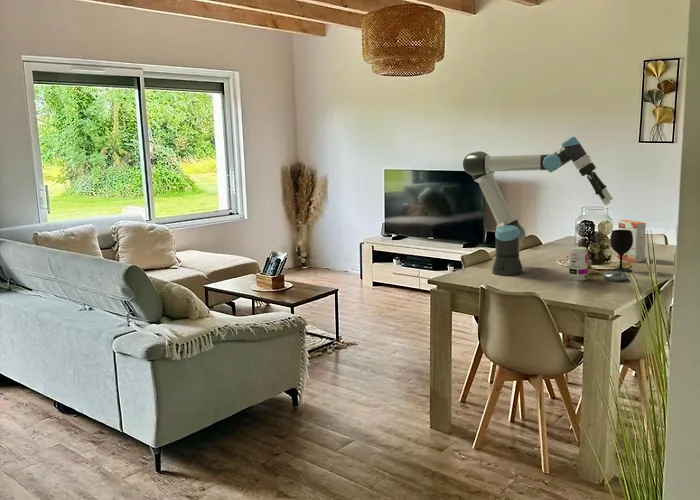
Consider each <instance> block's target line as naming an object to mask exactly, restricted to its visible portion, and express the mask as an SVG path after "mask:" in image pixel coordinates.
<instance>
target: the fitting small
mask: <svg viewBox="0 0 700 500" xmlns="http://www.w3.org/2000/svg"><path fill="white" fill-rule="evenodd" d="M592 264H593V263H592V259H588V274H587V276H591V275H596V274H597V273H596V272H597V268H596V267H594V266H592Z"/></svg>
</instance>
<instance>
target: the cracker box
mask: <svg viewBox="0 0 700 500" xmlns="http://www.w3.org/2000/svg"><path fill="white" fill-rule="evenodd" d="M646 227H647V225H646V222H643V221H637V220H632V219H621V220H618V230H630V231H632V235H633V245H632V247H631V249H630V250H629V251H628V252H626V253H625V254H624V255H623V257H622V260H624V261H627V262H632V263H636V264H638V263H643V262H645V258H646V256H645V255H646ZM617 259H620V256H619V254H618V253H617Z"/></svg>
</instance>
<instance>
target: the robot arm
mask: <svg viewBox="0 0 700 500" xmlns="http://www.w3.org/2000/svg"><path fill="white" fill-rule="evenodd" d="M590 157H591V155H588V153H587V152H586V151H585V149H584V147H583V146H582V144H581V143H580V141H579V140H578V138H577V137H576V136H571V137H569V138H568V139H566V140H565V141H563V142H562V143H561V148H560V149H558V150H557V151H555V152H554V153H551V154H525V155H524V154H523V155H522V154H521V155H520V154H519V155H517V154H516V155H493V156H492V155H489V154H488V153H486V152H485V151H481V150H480V151H474V152H470V153H468V154H467V155H466V156H465V157H464V158H463V161H462V168H463V170H464V171H465V173H467V174H469V175H470V176H471V177H472V179H473V181H474V182H476V183H478V185H479V188H480V189H481V192H482V194H483V196H484V199H485V201H486V202H487V204H488V206H489V209H490V211H491V213H492V215H493V218H494V220H495V223H496V227H495V228H496V229H495V234H494V236H495V259H494V262H493V265H492V271H491V272H492V274H494V275H497V276H518V275H521V274H523V273H524V269H523V265H522V262H521V258H520V246H521V245H522V244H523V242H525V241H524V240H525V238H526V230H525V229H524V227H523V226H522V225H521V224H520V223H519V221H518V219H517V218H516V217H514V216H513V215H512V213H511V210H510V208H509V206H508V204H507V202H506V200H505V199H506V198H505V197H504V195H503V193H502V192H501V189H500V187H499V184H498V183H497V181H496V178H495V176H494V175H495V172H516V171H517V172H518V171H520V172H523V171H524V172H525V171H526V172H527V171H529V172H530V171H548V172H549V173H553V172H555V171H556V170H558V169H559V168H561V167H563V166H564V165H566V164H567V163H569V162H570V161H572V163H573V165H574V167H575V168H576V169H577V170H578V172H579V173H580V175H581V176H582V177H585V176H586V178H587V180H588V181H589V184H590V185H591V186H592V188H593V190H594V193H595V195H596V196H598V197H599V198H600V200H601V202H602V203H603V205H605V206H607V205H609V204H610V203H611V200H613V196H612V195H611V194H610V192H609V191H608V189H607V185H606V184H605V183H604V182H603V181H602V180H601V178H600V177H599V176H598V175H597V173H596V172H595V171H594V170H596V169H597V167H596V165H595V164H594V162H591V161H592V159H591V158H590Z"/></svg>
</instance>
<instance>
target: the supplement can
mask: <svg viewBox="0 0 700 500" xmlns="http://www.w3.org/2000/svg"><path fill="white" fill-rule="evenodd" d="M569 249H570V250H569V255H568V256H569V257H568V258H569V259H568V260H569V261H568V263H569V264H568V265H569V266H568V267H569V268H568V269H569V270H568V278H569V279H570V280H572V281H577V282H579V281H585V280H587V279H588V275H587V274H588V260H589V259H588V257H589V255H588V254H589V251H588V249H587V247H585V246H573V247H570V248H569Z"/></svg>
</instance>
